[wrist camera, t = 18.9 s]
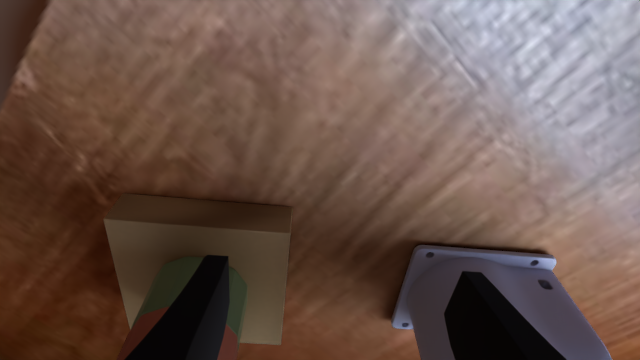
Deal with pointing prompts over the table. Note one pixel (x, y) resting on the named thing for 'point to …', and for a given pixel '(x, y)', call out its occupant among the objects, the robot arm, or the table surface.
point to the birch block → (204, 250)
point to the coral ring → (148, 320)
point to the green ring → (176, 279)
